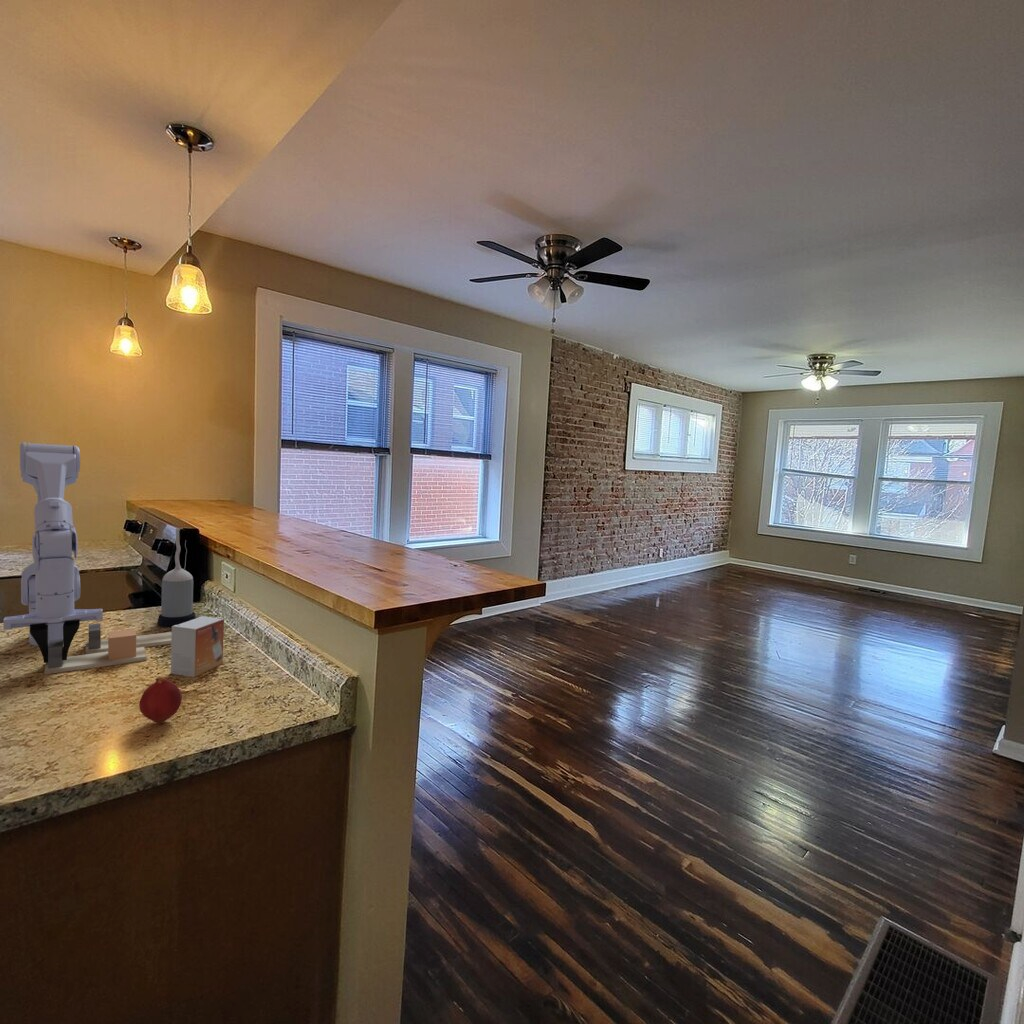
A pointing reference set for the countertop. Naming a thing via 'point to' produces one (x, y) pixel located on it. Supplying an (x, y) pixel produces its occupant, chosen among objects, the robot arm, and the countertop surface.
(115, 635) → the block
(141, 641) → the far strip
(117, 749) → the countertop surface
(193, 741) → the countertop surface
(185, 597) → the humidifier
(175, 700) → the onion
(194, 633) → the small box
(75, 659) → the near strip
